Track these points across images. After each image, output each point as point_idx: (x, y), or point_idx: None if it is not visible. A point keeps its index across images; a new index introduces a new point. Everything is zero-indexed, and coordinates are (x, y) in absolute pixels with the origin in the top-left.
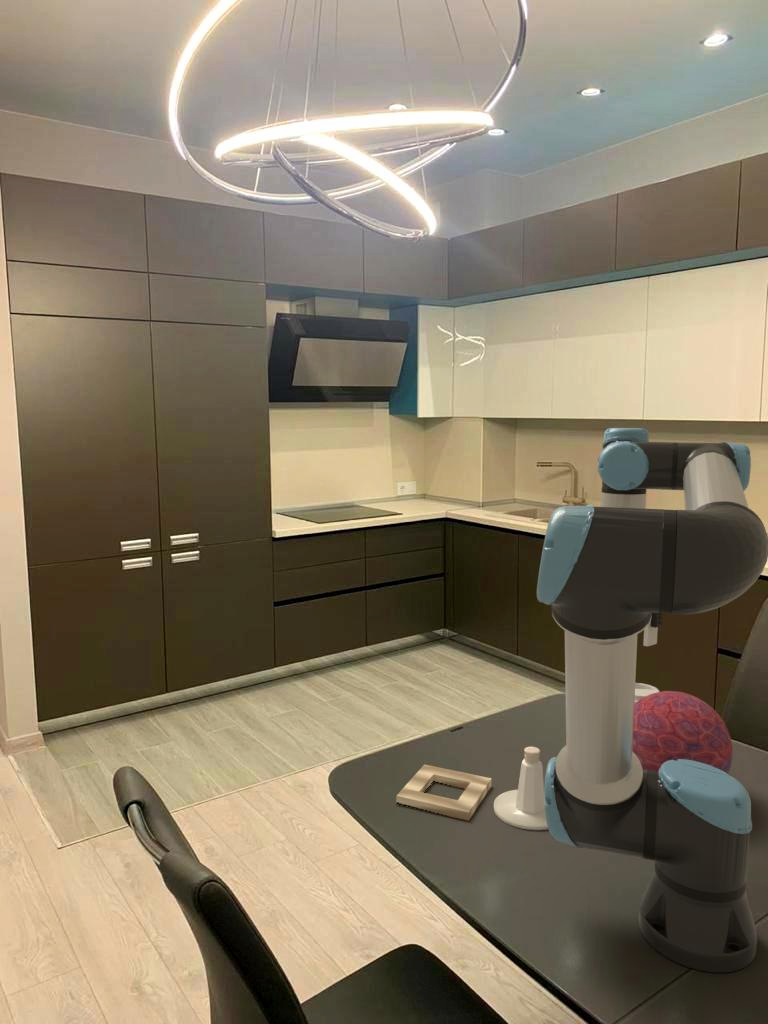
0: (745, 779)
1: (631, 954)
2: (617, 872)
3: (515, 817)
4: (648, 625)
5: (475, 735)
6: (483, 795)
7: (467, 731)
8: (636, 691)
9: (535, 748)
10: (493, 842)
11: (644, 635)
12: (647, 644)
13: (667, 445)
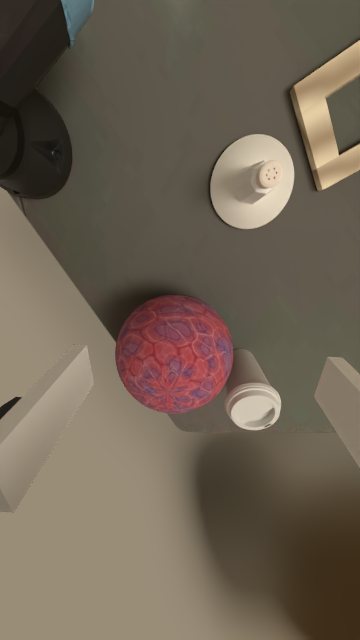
0: None
1: None
2: (122, 168)
3: (248, 148)
4: (28, 392)
5: None
6: (309, 156)
7: None
8: (255, 408)
9: (269, 180)
10: (236, 82)
11: (67, 364)
12: (70, 348)
13: None
